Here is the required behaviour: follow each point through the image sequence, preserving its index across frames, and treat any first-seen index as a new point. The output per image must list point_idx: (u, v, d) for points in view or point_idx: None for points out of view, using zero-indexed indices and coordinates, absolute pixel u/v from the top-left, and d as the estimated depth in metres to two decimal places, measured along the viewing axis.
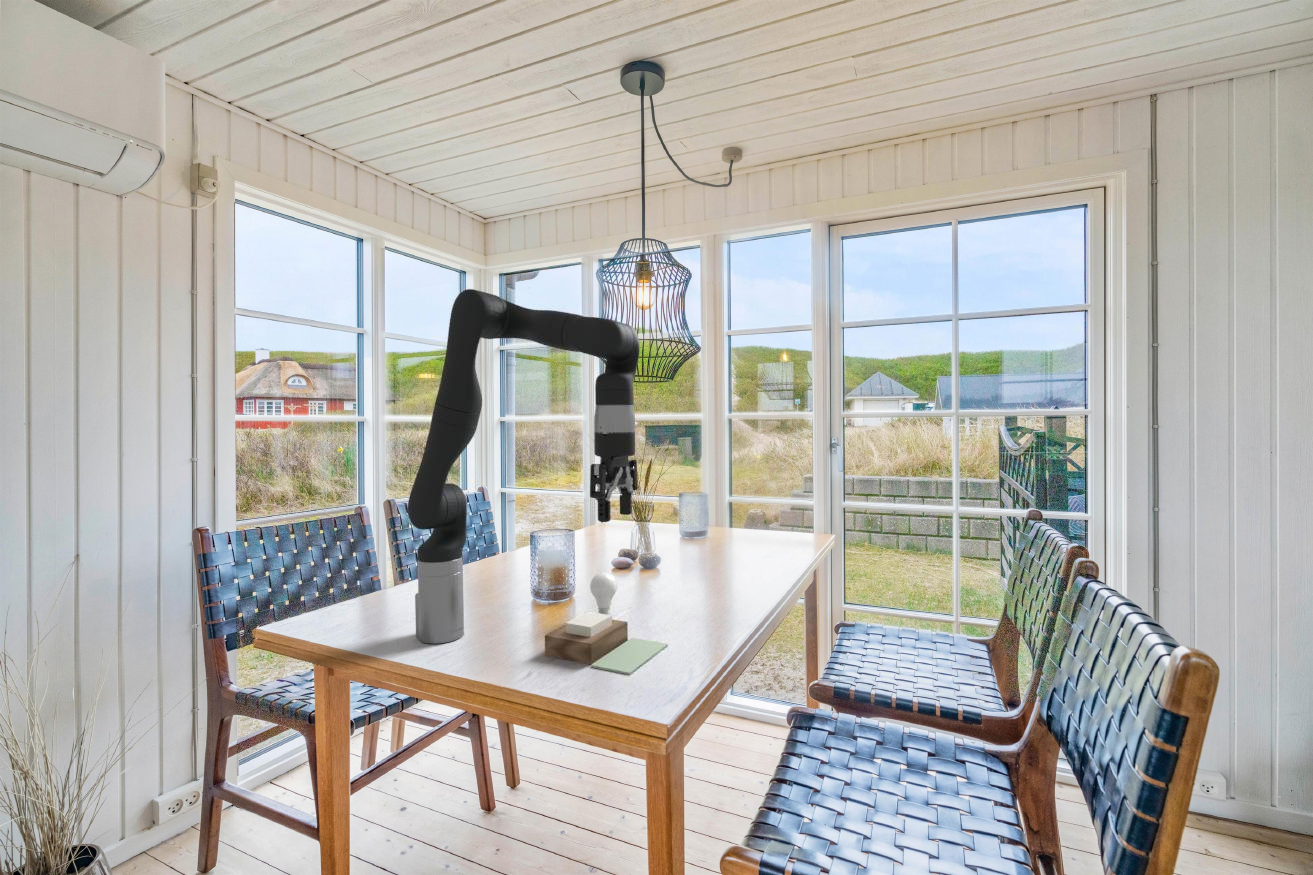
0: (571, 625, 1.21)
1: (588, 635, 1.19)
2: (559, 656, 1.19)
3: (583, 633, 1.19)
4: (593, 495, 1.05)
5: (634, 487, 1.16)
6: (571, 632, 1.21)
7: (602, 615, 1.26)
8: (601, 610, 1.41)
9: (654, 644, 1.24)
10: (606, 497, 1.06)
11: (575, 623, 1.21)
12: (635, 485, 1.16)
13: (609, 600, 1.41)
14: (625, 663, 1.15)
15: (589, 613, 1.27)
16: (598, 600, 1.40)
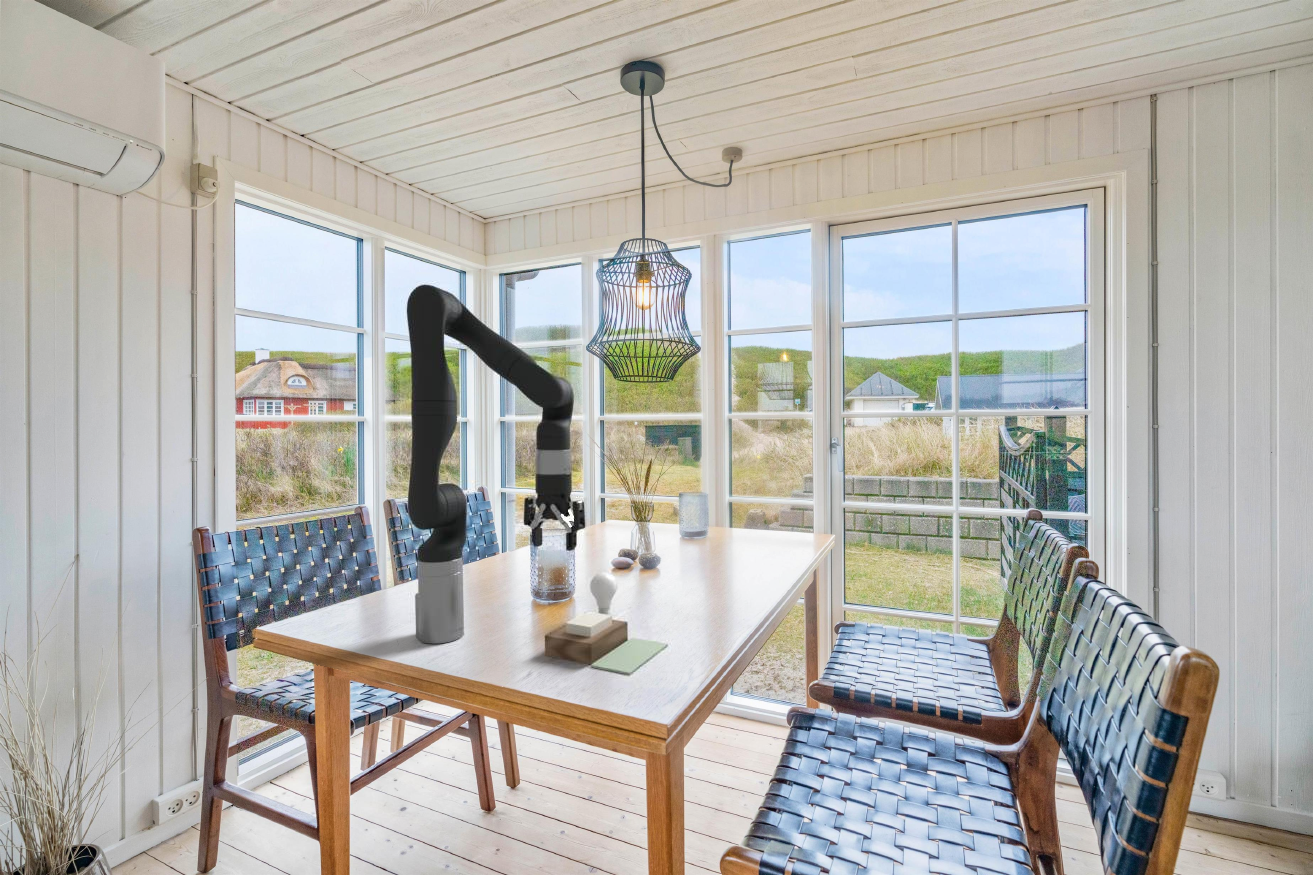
0: (571, 625, 1.21)
1: (588, 635, 1.19)
2: (559, 656, 1.19)
3: (583, 633, 1.19)
4: (580, 527, 1.23)
5: None
6: (571, 632, 1.21)
7: (602, 615, 1.26)
8: (601, 610, 1.41)
9: (654, 644, 1.24)
10: None
11: (575, 623, 1.21)
12: None
13: (609, 600, 1.41)
14: (625, 663, 1.15)
15: (589, 613, 1.27)
16: (598, 600, 1.40)
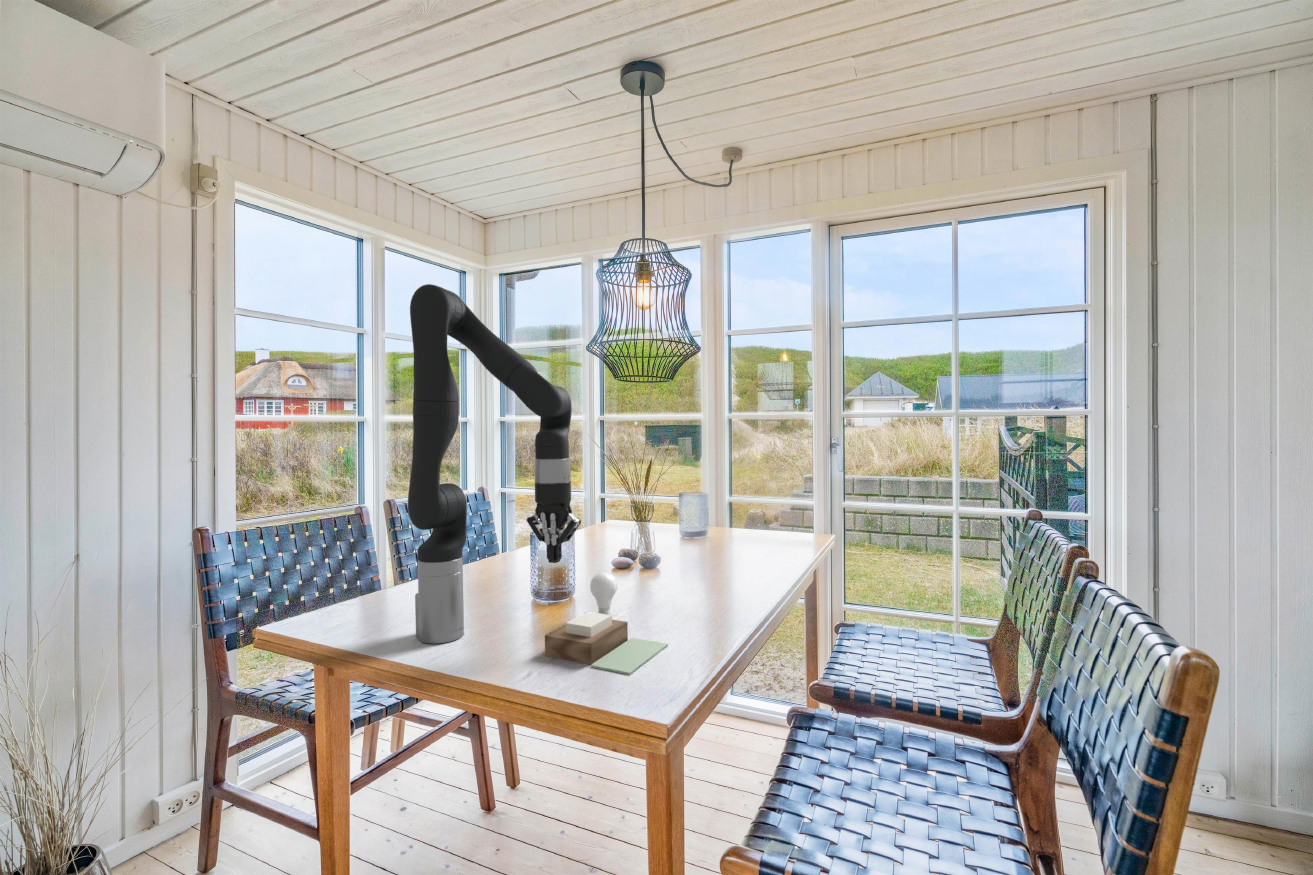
0: (571, 625, 1.21)
1: (588, 635, 1.19)
2: (559, 656, 1.19)
3: (583, 633, 1.19)
4: (563, 541, 1.25)
5: None
6: (571, 632, 1.21)
7: (602, 615, 1.26)
8: (601, 610, 1.41)
9: (654, 644, 1.24)
10: None
11: (575, 623, 1.21)
12: None
13: (609, 600, 1.41)
14: (625, 663, 1.15)
15: (589, 613, 1.27)
16: (598, 600, 1.40)
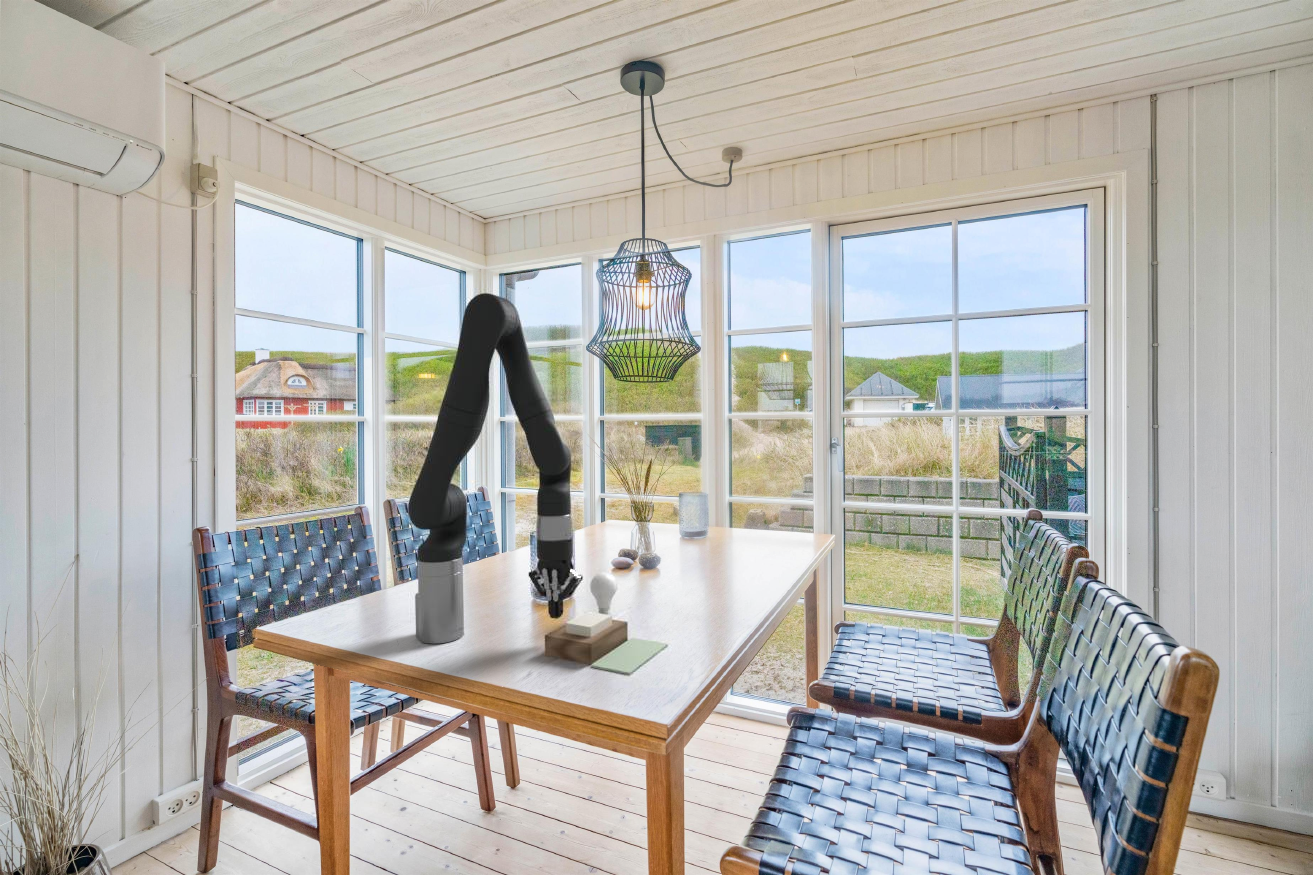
0: (571, 625, 1.21)
1: (588, 635, 1.19)
2: (559, 656, 1.19)
3: (583, 633, 1.19)
4: (565, 597, 1.25)
5: None
6: (571, 632, 1.21)
7: (602, 615, 1.26)
8: (601, 610, 1.41)
9: (654, 644, 1.24)
10: None
11: (575, 623, 1.21)
12: None
13: (609, 600, 1.41)
14: (625, 663, 1.15)
15: (589, 613, 1.27)
16: (598, 600, 1.40)
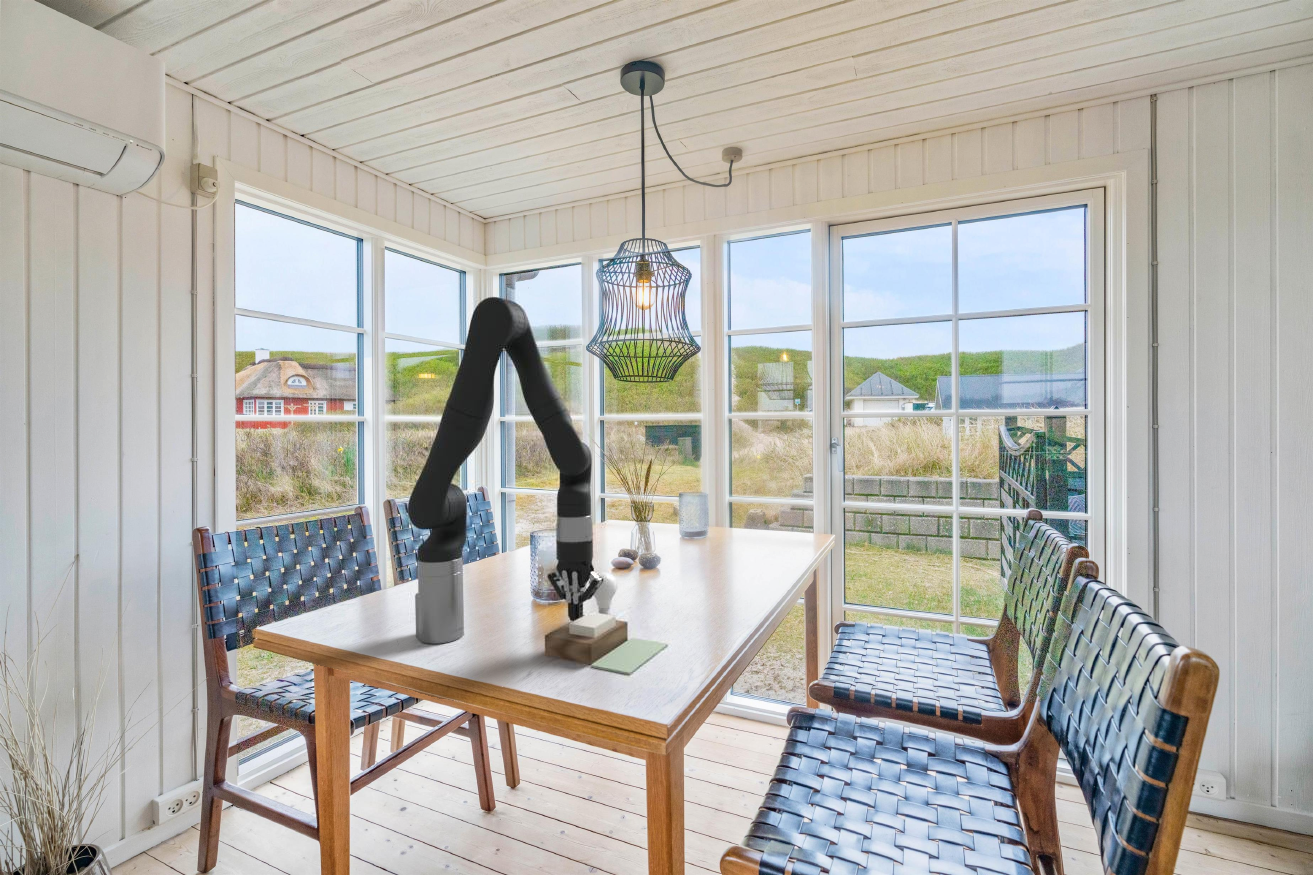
0: (575, 626, 1.20)
1: (592, 636, 1.19)
2: (559, 656, 1.19)
3: (587, 634, 1.19)
4: (585, 600, 1.23)
5: None
6: (575, 633, 1.20)
7: (605, 616, 1.25)
8: (601, 610, 1.41)
9: (654, 644, 1.24)
10: None
11: (579, 624, 1.20)
12: None
13: (609, 600, 1.41)
14: (625, 663, 1.15)
15: (593, 614, 1.27)
16: (598, 600, 1.40)
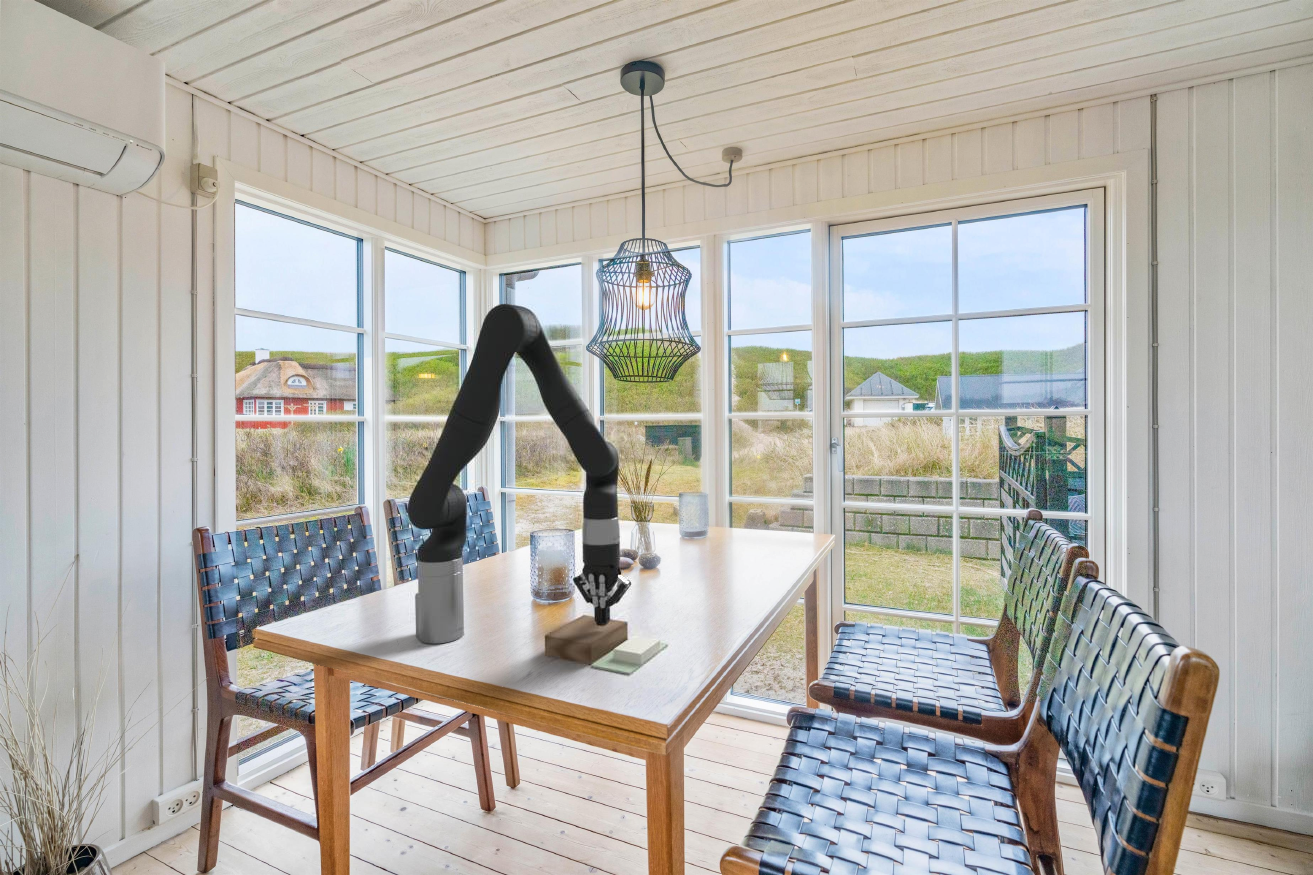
0: (634, 661, 1.14)
1: (616, 650, 1.16)
2: (559, 656, 1.19)
3: (621, 652, 1.16)
4: None
5: None
6: (634, 653, 1.14)
7: None
8: None
9: None
10: None
11: None
12: None
13: None
14: (625, 663, 1.15)
15: None
16: None
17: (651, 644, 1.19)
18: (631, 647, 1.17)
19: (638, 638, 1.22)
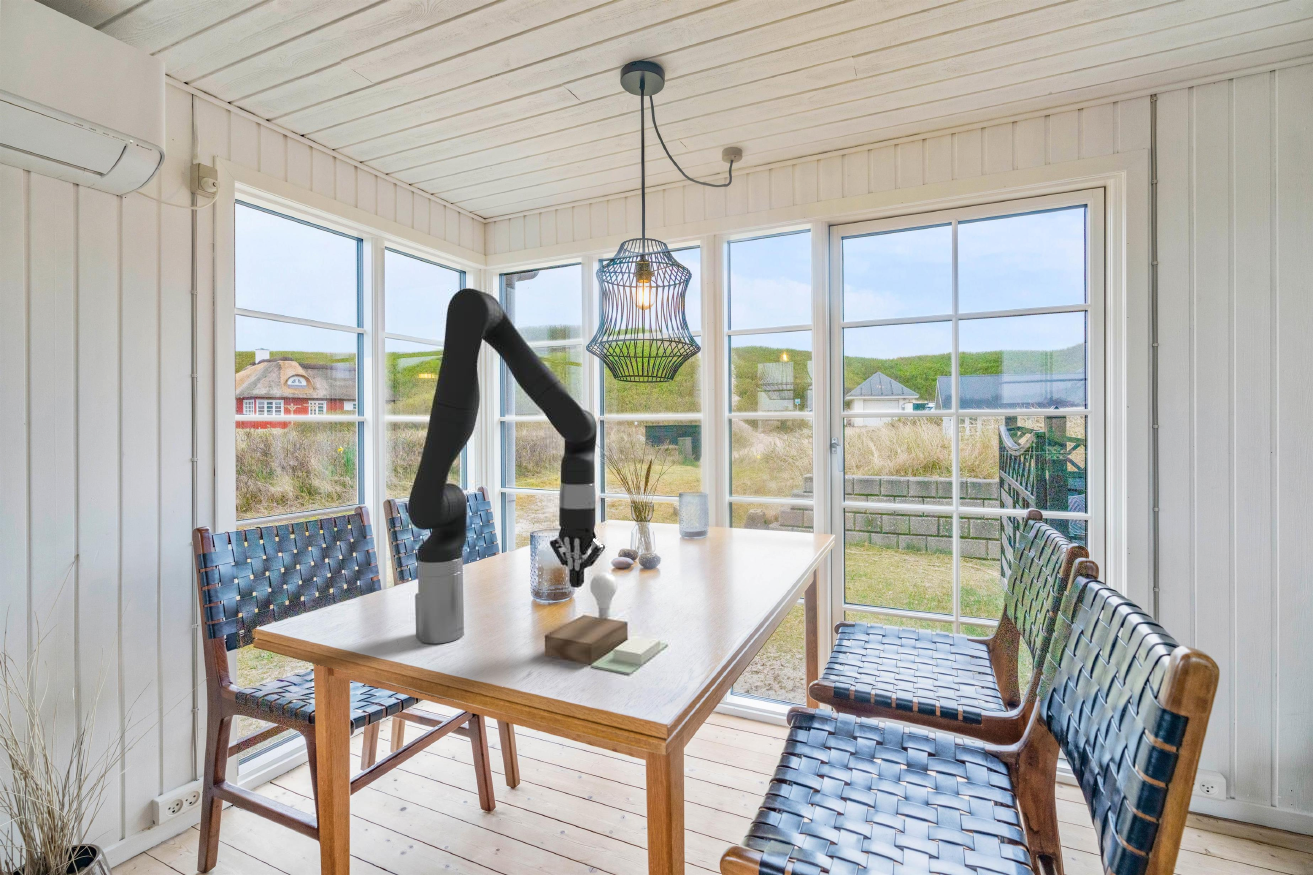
0: (634, 661, 1.14)
1: (616, 650, 1.16)
2: (559, 656, 1.19)
3: (621, 652, 1.16)
4: None
5: None
6: (634, 653, 1.14)
7: None
8: (601, 610, 1.41)
9: None
10: None
11: None
12: None
13: (609, 600, 1.41)
14: (625, 663, 1.15)
15: None
16: (598, 600, 1.40)
17: (651, 644, 1.19)
18: (631, 647, 1.17)
19: (638, 638, 1.22)
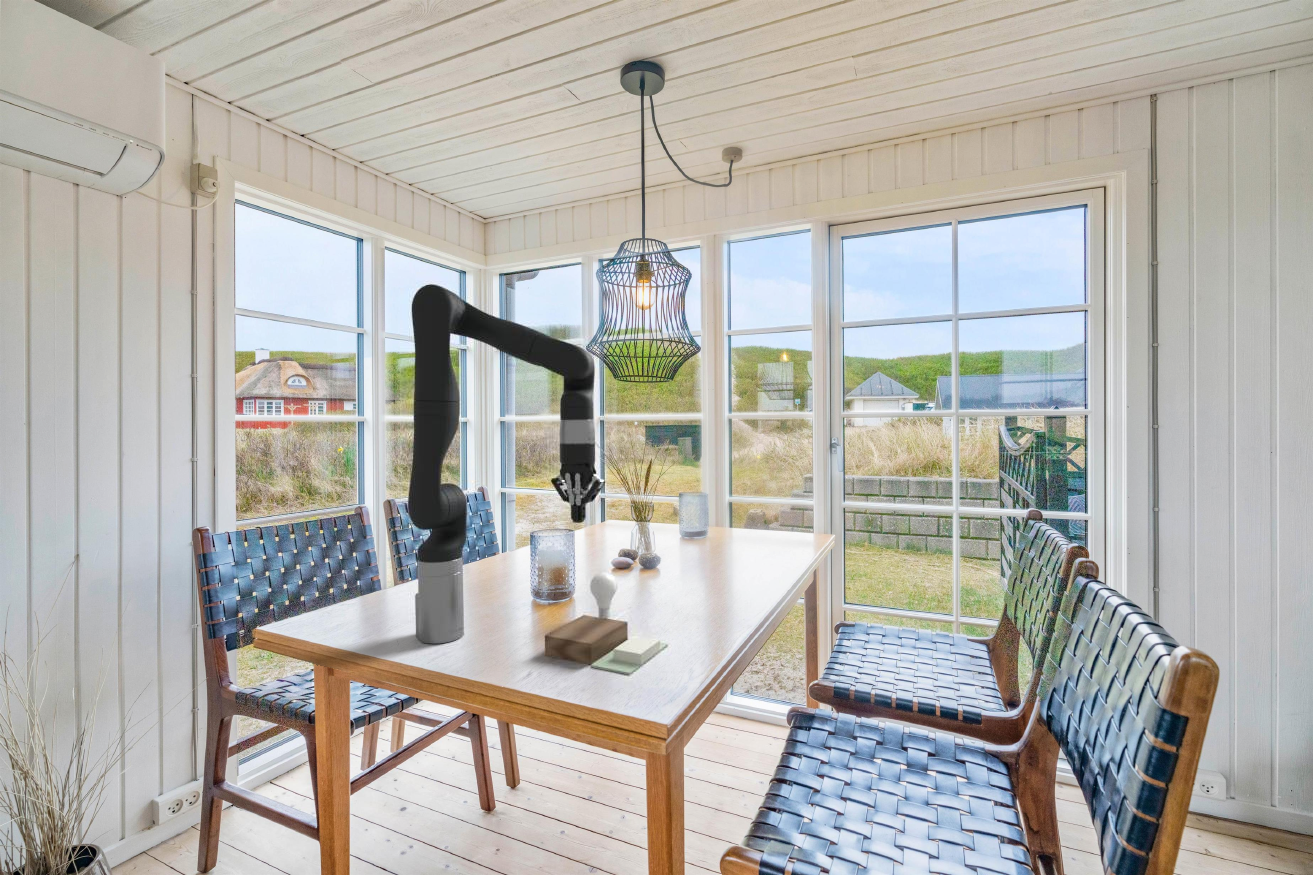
0: (634, 661, 1.14)
1: (616, 650, 1.16)
2: (559, 656, 1.19)
3: (621, 652, 1.16)
4: (588, 501, 1.27)
5: None
6: (634, 653, 1.14)
7: None
8: (601, 610, 1.41)
9: None
10: None
11: None
12: None
13: (609, 600, 1.41)
14: (625, 663, 1.15)
15: None
16: (598, 600, 1.40)
17: (651, 644, 1.19)
18: (631, 647, 1.17)
19: (638, 638, 1.22)
